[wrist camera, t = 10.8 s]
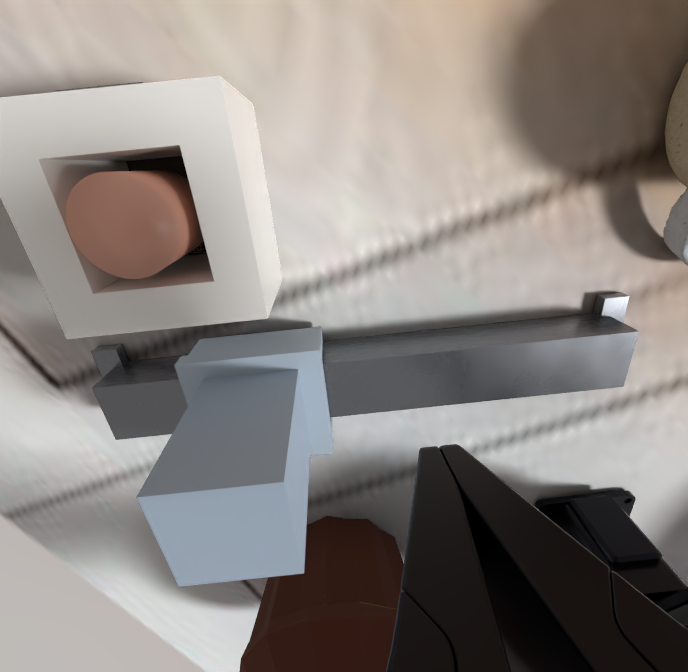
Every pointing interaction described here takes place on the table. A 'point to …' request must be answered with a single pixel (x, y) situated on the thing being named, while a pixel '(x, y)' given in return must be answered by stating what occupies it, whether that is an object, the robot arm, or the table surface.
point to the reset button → (133, 221)
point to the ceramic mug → (678, 166)
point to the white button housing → (111, 155)
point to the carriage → (241, 458)
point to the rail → (406, 368)
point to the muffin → (331, 604)
